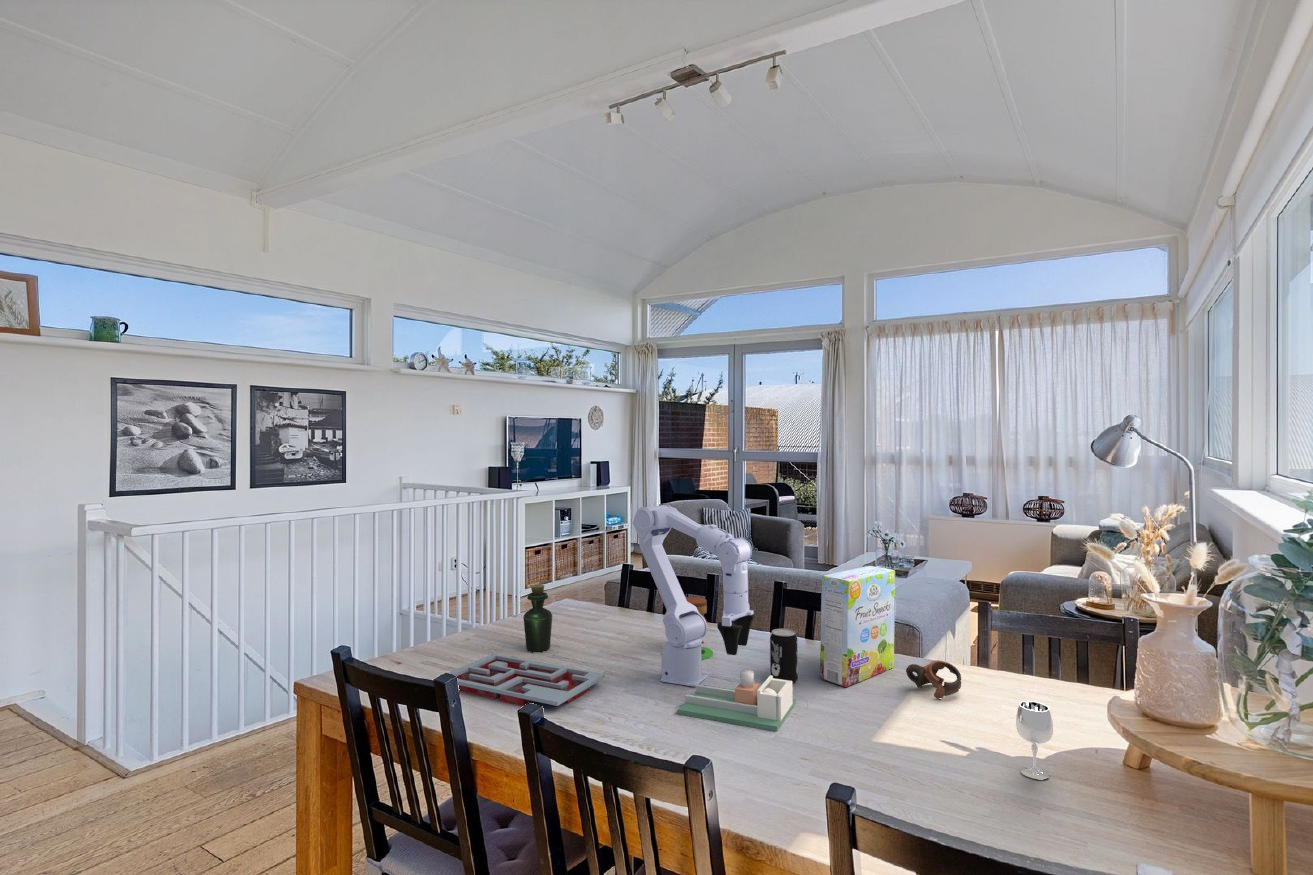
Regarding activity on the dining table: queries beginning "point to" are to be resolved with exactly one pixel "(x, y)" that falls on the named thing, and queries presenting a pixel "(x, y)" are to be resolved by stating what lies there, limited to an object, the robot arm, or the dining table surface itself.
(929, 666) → the brown curved loop
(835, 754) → the dining table surface
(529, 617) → the potion bottle
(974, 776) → the dining table surface
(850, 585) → the snack box
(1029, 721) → the wineglass
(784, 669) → the beverage can
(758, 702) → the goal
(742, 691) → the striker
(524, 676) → the maze game
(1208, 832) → the dining table surface
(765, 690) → the ball
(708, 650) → the toy burger
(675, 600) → the robot arm
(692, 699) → the pitch board
